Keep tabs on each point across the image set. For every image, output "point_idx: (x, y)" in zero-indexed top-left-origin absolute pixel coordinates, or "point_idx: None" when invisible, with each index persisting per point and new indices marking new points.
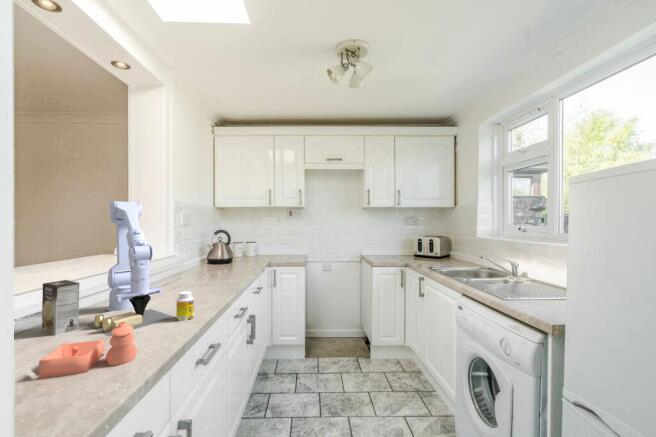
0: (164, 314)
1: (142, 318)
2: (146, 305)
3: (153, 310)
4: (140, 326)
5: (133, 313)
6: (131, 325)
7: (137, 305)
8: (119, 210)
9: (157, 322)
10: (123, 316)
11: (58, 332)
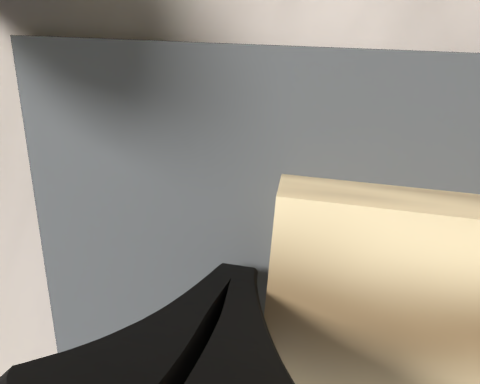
0: (51, 212)
1: None
2: (142, 321)
3: None
4: (359, 79)
5: None
6: (387, 187)
7: (283, 373)
8: None
9: (194, 42)
10: (395, 364)
11: None
